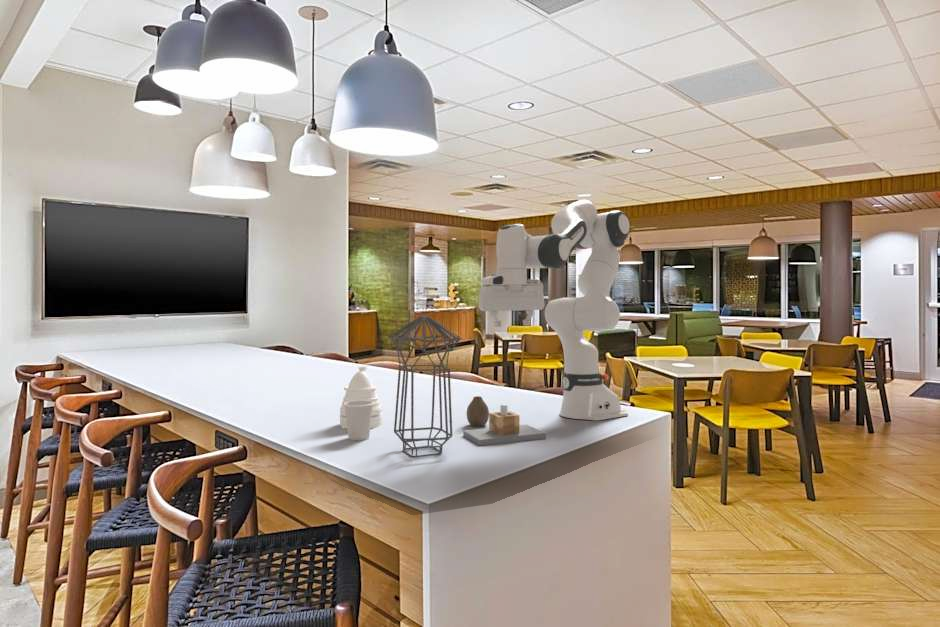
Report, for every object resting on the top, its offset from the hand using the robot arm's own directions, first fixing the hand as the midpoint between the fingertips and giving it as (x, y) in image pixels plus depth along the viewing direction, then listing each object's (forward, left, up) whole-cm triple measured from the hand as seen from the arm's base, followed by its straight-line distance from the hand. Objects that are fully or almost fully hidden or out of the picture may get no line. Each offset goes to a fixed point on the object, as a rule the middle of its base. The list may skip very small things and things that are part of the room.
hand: (512, 326), depth 175 cm
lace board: (+6, +7, -31) cm, 32 cm away
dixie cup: (+44, -8, -31) cm, 54 cm away
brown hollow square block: (+6, +7, -29) cm, 31 cm away
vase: (+7, -10, -31) cm, 33 cm away
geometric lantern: (+31, +13, -31) cm, 46 cm away
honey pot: (+40, -25, -31) cm, 56 cm away
